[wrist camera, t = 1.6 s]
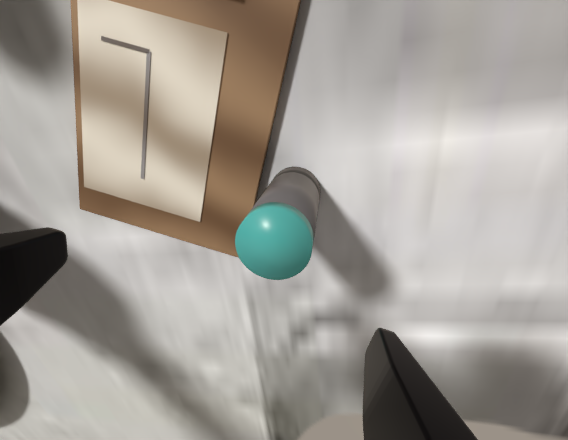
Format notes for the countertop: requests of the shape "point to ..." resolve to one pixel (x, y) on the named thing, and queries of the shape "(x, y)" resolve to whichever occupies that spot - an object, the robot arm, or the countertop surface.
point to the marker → (281, 226)
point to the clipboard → (177, 110)
